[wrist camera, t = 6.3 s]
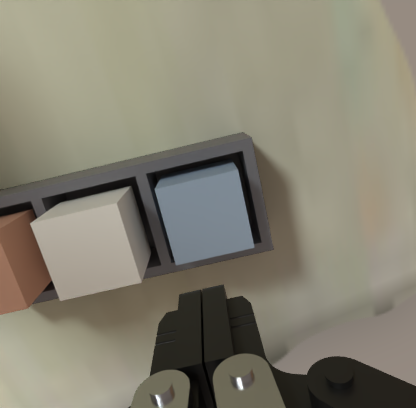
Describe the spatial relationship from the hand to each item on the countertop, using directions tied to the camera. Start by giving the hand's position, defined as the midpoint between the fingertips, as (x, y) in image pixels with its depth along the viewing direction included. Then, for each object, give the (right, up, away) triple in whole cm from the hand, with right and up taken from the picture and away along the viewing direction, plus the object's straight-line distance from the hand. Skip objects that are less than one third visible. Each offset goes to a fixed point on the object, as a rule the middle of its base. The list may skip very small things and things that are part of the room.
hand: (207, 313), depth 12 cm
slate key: (0, +4, +14) cm, 14 cm away
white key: (-7, +2, +13) cm, 15 cm away
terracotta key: (-14, 0, +13) cm, 19 cm away
